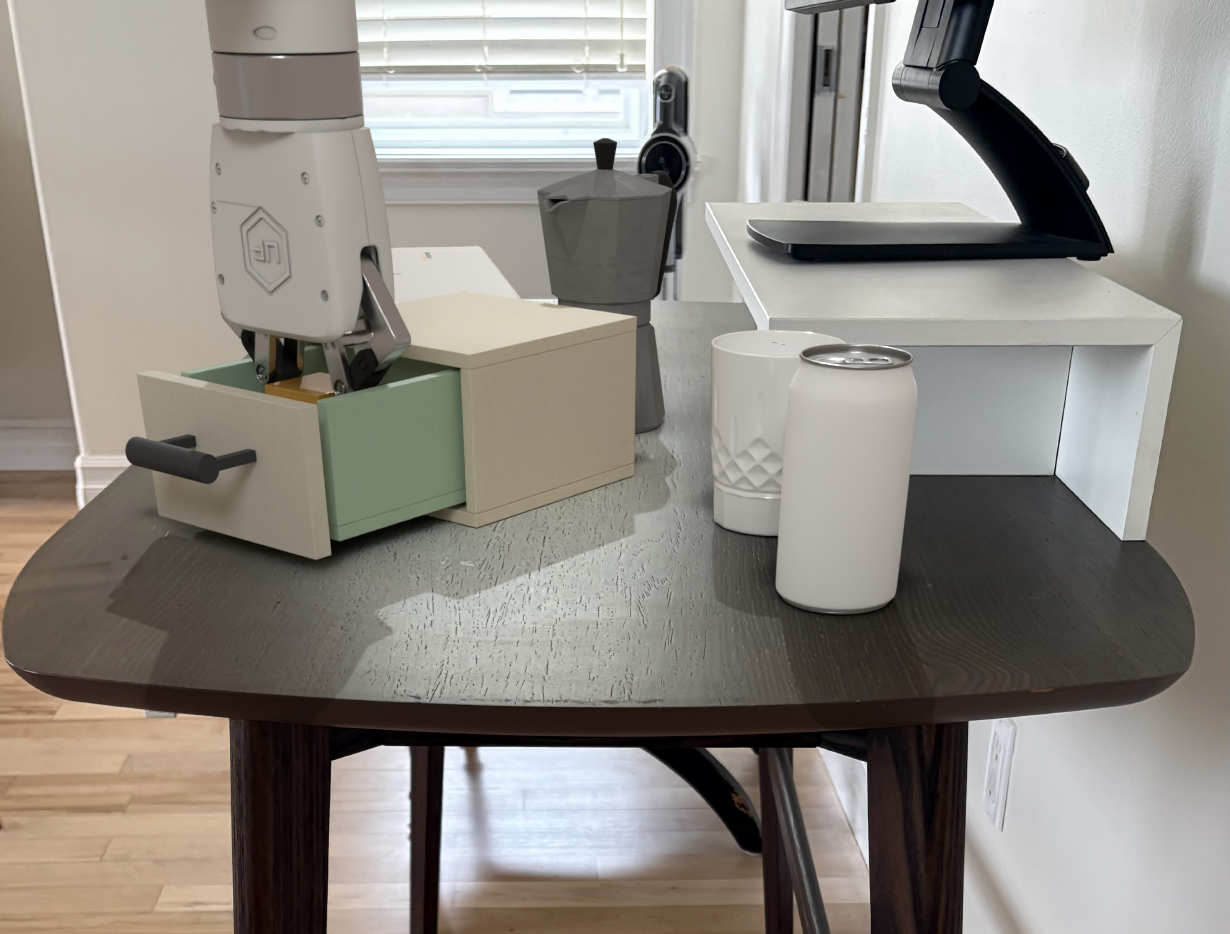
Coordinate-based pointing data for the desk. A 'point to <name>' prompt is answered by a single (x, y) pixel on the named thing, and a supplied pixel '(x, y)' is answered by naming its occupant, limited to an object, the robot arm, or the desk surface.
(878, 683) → the desk surface
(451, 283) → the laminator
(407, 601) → the desk surface
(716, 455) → the white cup
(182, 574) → the desk surface
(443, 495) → the drawer
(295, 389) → the block
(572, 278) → the coffeepot
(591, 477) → the cabinet
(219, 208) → the robot arm
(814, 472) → the can
